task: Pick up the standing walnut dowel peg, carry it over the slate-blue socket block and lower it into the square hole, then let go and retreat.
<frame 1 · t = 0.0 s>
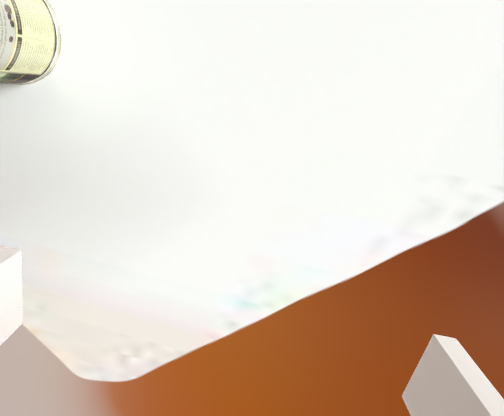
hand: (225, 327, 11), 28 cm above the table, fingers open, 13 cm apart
coffee can: (13, 30, 33), on the table
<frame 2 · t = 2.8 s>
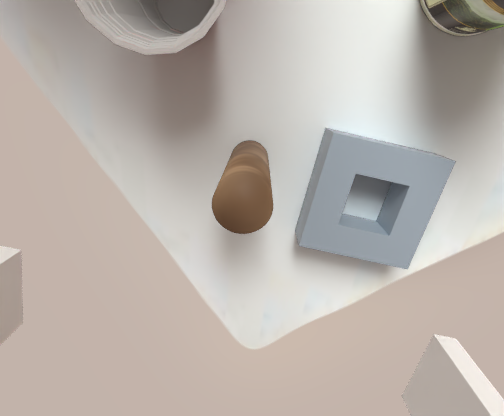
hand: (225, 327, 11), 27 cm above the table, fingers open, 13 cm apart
peg: (249, 159, 36), on the table
plastic cup: (186, 3, 31), on the table
socket block: (361, 193, 37), on the table
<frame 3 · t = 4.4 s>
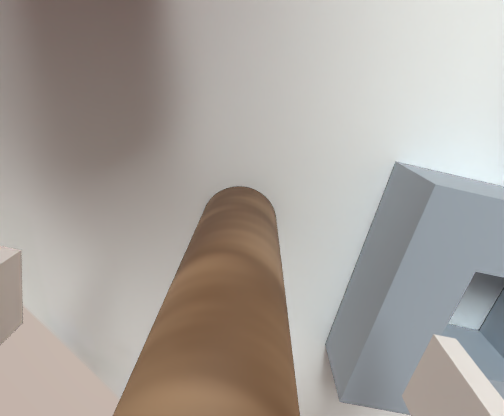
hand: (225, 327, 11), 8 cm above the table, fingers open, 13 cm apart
peg: (239, 221, 18), on the table
socket block: (456, 284, 19), on the table
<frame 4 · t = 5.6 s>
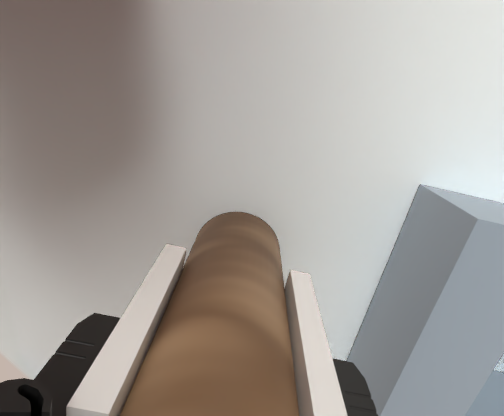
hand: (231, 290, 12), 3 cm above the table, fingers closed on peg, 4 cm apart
peg: (237, 251, 15), on the table, touching gripper
socket block: (487, 323, 16), on the table
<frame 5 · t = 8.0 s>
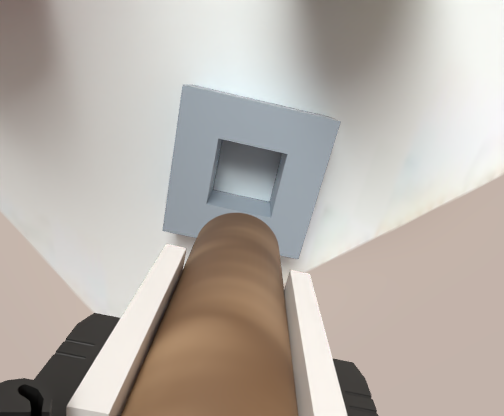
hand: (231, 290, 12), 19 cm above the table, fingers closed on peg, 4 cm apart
peg: (236, 252, 16), point 16 cm above the table, touching gripper
socket block: (247, 168, 30), on the table
when the fingers open (5 cm above the table, at t = 10.2 s): peg stays where it is, resting in socket block.
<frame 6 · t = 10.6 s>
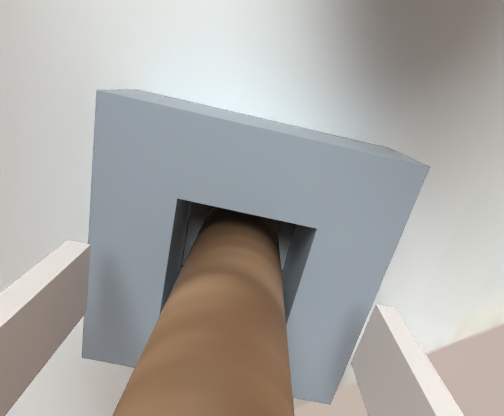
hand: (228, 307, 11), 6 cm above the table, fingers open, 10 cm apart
peg: (239, 235, 17), resting in socket block
socket block: (239, 234, 17), on the table
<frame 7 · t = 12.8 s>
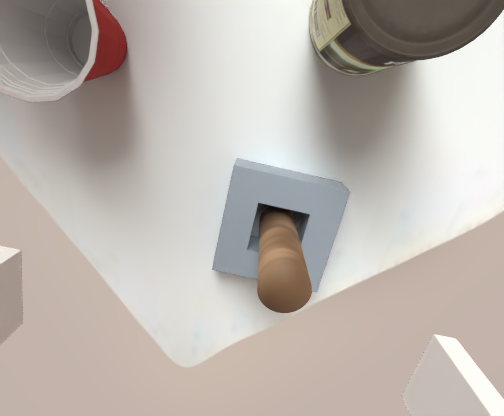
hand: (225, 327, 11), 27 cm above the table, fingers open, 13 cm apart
coffee can: (361, 18, 32), on the table
peg: (276, 219, 38), resting in socket block
plastic cup: (100, 46, 33), on the table
socket block: (276, 219, 38), on the table
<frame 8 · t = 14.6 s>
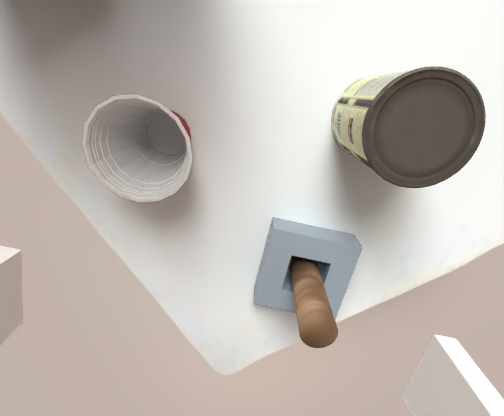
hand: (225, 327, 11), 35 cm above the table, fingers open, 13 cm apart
coffee can: (371, 117, 42), on the table
peg: (302, 262, 49), resting in socket block
plastic cup: (168, 135, 43), on the table
socket block: (302, 262, 49), on the table
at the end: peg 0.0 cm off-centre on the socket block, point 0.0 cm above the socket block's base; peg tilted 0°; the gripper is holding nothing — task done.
